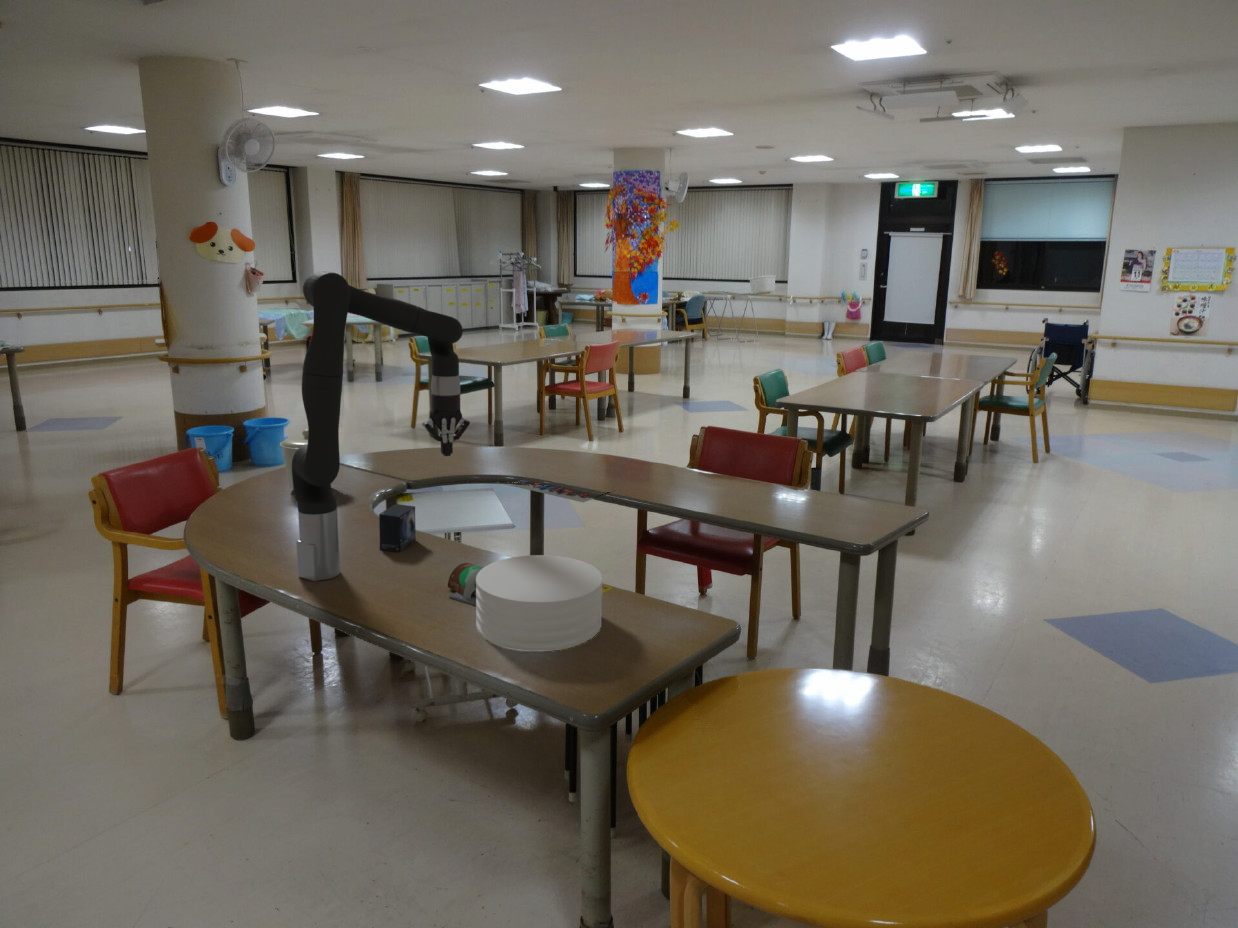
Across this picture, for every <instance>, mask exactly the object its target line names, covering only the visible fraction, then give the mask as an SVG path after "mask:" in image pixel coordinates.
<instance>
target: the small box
mask: <svg viewBox="0 0 1238 928" xmlns="http://www.w3.org/2000/svg"><path fill="white" fill-rule="evenodd" d="M378 515H379V516H378V519H379V523H378V525H379V526H378V528H379V550H380V551H381V550H382V551H389V552H397V553H400V552H401V551H403V550H404V549H406V548H407V547H408V545H409V546H410V545H411V544H413V543H414V542H415V541H417V540H416V539H417V538H416V537H417V535H416V532H417V531H416V506H415V505H414V506H413V505H406V504H401V503H400V504H398V503H395V504H393V505H392V506H390V507H389V508H387V509H385V510H383V511H382V512H380V513H379V514H378Z"/></svg>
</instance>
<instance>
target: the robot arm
mask: <svg viewBox="0 0 1238 928" xmlns="http://www.w3.org/2000/svg"><path fill="white" fill-rule="evenodd" d="M304 280H305V281H304V282H303V286H302V293H303V297H304V298H305V301H306V302H307V303H308V304H309V305H310V306H312V308H313V310H312V311H313V326H312V327H313V328H312V334H311V339H310V341H309V344H308V347H307V349H306V353H305V357H304V360H303V365H302V372H301V373H302V375H301V377H302V378H301V398H302V403H303V408H304V413H305V416H306V421H307V429H308V444H307V445H304V446H302V447H300V448H299V449H298V450H297V451H296V452H295V454H294V456H293V459H292V478H293V488H294V491H293V494H294V500H295V502H296V505H297V515H298V517H297V518H298V533H299V539H298V540H297V541H296V555H297V557H296V558H297V559H296V560H297V569H298V571H297V573H298V577H299V578H302V579H305V580H309V581H311V582H319V581H323V580H329V579H333V578H337V576H339V575H340V573H341V561H340V540H339V519H338V516H339V515H338V501H337V497H336V494H334V491H333V489H332V487H331V486H332V485H330V484H331V483H332V484H333V483H334V481H335V480H336V478H337V477H338V475H339V472H340V464H341V463H340V462H341V461H340V459H341V458H340V438H339V436H340V435H339V430H340V428H339V427H340V416H341V402H342V393H343V379H344V377H343V375H344V357H345V332H346V325H347V320H348V315H349V314H352V315H355V316H360V317H362V318H366V319H369V320H371V321H373V322H377V323H380V324H382V325H384V326H386V327H387V326H388V327H391V328H394V329H397V330H400V331H403V332H406V333H409V334H414V335H420V336H423V337H426V338H427V342H428V347H429V352H430V356H431V382H430V385H431V386H430V394H431V414H430V416H429V419H428V420H427V421H423V422H422V425H421V426H423V428H424V429H425V430H426V431H427V432H428V434H429V435H430V436H431V437H432V439H434V440H436V442H440V452H441V454H442V455H443V457H451V455H452V454H453V452H454V450H453V449H454V448H453V447H454V446H453V442H455V441H456V440H460V438H461V437H462V436H463V434H464V433H465V432H466V430H467V429H468V428H469V425H470V423H471V422H470V421H469V420H468V419H465V418H464V417H463V413H462V412H461V381H460V360H459V356H458V354H457V353H456V352H455V351H454V344H455V343H457V342H459V340H460V339H461V338H462V336H463V332H464V330H463V326H462V324H461V321H459V320H458V319H457V318H455V317H453V316H450V315H447V314H443V313H439V312H436V311H431V310H428V309H425V308H423V307H421V306H418V305H415V304H413V303H410V302H406V301H403V300H400V299H397V298H392V297H388V296H383V295H380V294H376V293H373V292H368V291H366V290H362V289H359V288H357V287H355V286H352V285H350V284H349V282H348V281H347V279H346V278H345V277H344V276H342V275H341V274H339V273H336V272H332V271H318V272H314V273H312V274H310V275H308V277H306V279H304ZM434 425H435V427H436V428H437V429H438V433H437V432H436V431H435V429H433V428H434ZM458 425H459V426H458ZM456 427H457V428H456ZM455 428H456V429H455Z"/></svg>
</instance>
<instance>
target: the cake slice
mask: <svg viewBox="0 0 1238 928" xmlns="http://www.w3.org/2000/svg"><path fill="white" fill-rule="evenodd" d="M484 567H485V566H484ZM484 567H483V566H481V565H478V564H477V565H476V564H473V563H470V562H463V563H460V564H459V565H457V566H456V567H455V568H454V569H453V570H452V572H451V573H450V574H449V575H450V576H449V577H448V581H447V587H448V588H449V589H451V590H452V591H455V593H456V592H457V593H459V594H461V595H463V598H465V599H470V600H471V597H473V596H476V576H477V574H478V572H479V571H480V570H481V569H483V568H484Z"/></svg>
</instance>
